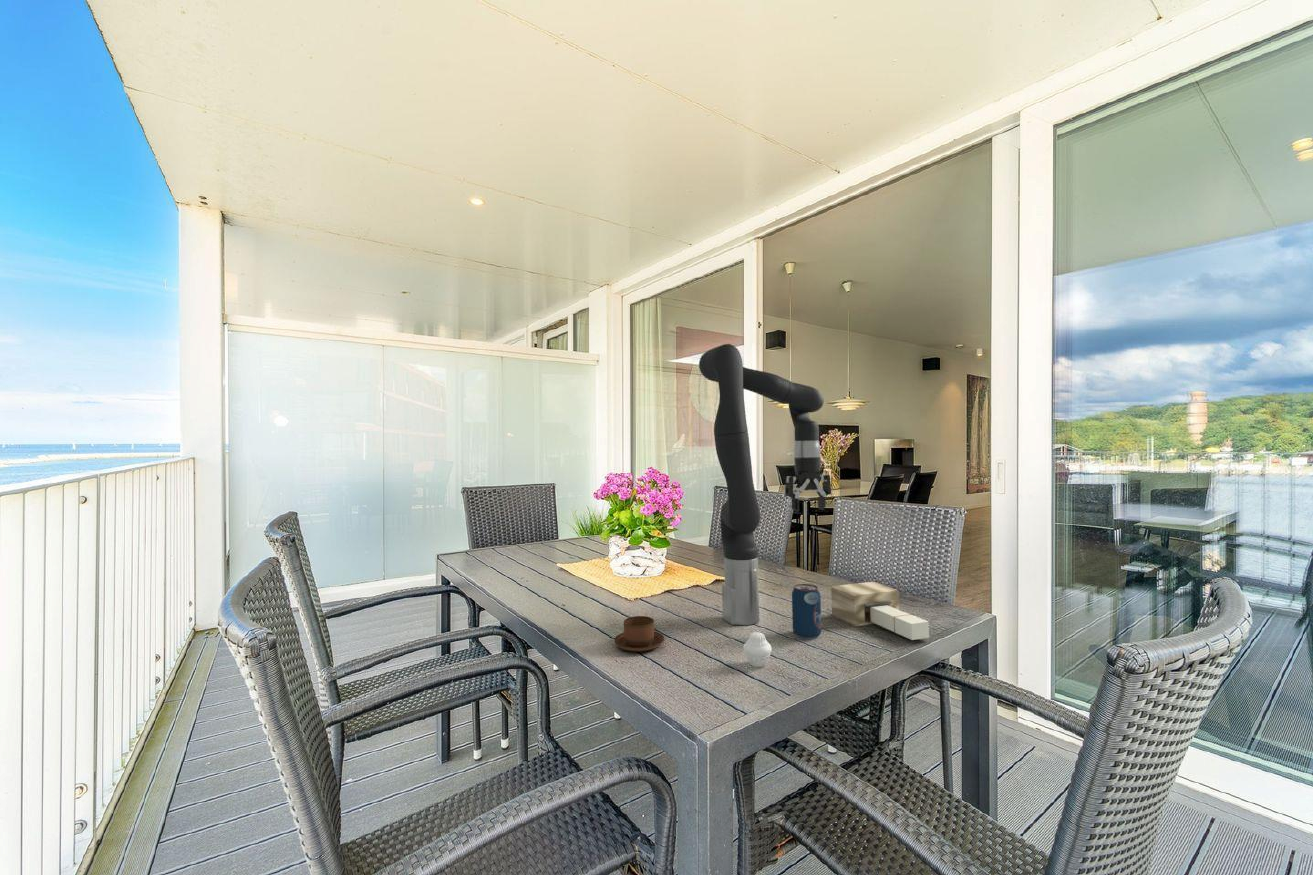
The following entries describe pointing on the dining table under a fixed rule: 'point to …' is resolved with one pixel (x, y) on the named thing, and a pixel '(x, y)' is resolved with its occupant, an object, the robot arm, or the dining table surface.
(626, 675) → the dining table surface
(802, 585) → the soda can
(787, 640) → the dining table surface
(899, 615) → the white two-segment bar
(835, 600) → the dispenser
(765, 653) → the white rounded piece
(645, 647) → the cup and saucer
